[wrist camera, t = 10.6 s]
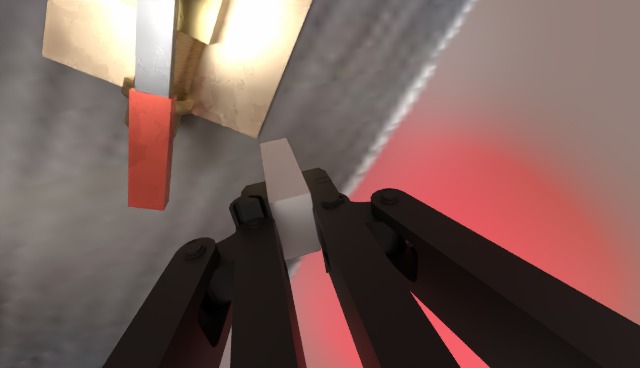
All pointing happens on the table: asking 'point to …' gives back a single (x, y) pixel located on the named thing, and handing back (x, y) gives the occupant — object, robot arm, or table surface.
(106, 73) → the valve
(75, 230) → the table surface
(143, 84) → the lever
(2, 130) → the table surface
